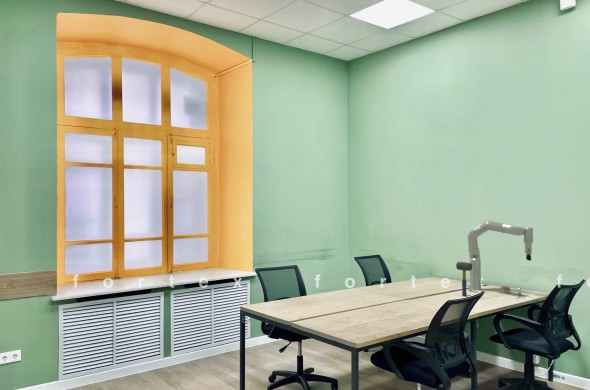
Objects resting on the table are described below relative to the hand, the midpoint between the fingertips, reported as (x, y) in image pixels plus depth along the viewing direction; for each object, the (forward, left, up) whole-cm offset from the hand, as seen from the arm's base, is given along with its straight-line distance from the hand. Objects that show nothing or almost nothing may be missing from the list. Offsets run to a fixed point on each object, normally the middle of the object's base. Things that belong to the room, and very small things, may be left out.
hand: (528, 259), depth 405 cm
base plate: (-3, -18, -31) cm, 36 cm away
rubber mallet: (-22, -57, -31) cm, 69 cm away
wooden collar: (-10, -18, -30) cm, 36 cm away
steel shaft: (+4, -18, -30) cm, 35 cm away
